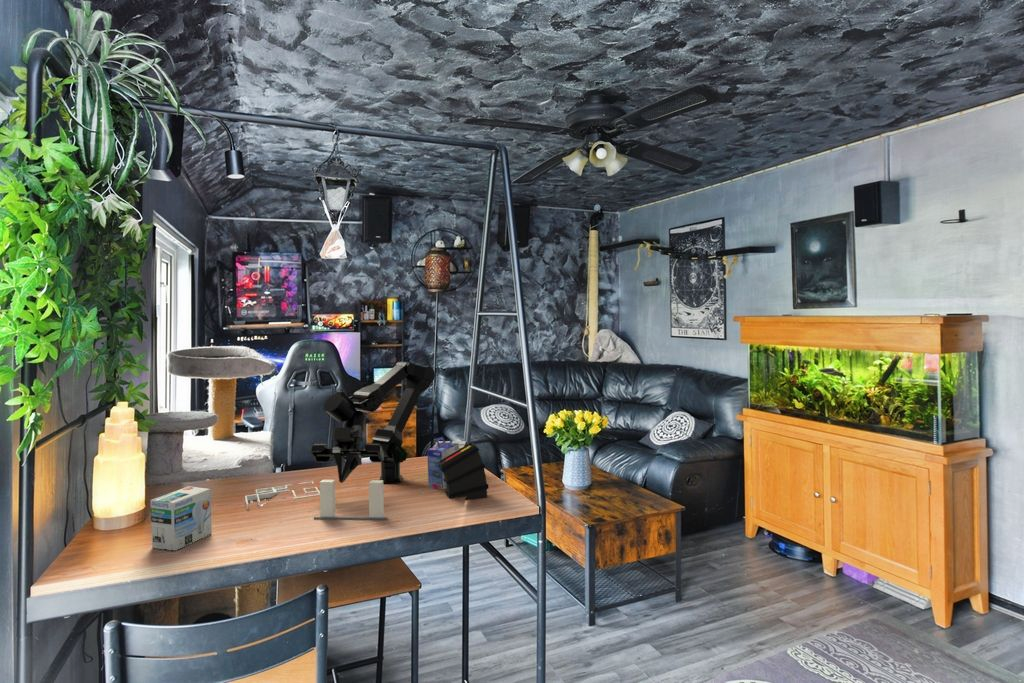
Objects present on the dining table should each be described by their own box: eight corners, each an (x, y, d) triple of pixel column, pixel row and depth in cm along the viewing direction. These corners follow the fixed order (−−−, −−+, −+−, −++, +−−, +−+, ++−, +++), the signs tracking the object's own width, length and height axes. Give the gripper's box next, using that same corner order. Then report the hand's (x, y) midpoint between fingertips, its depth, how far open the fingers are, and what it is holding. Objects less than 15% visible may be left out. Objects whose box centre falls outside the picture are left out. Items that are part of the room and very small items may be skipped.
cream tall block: (323, 515, 142) (322, 479, 141) (335, 515, 142) (334, 479, 141) (320, 518, 140) (319, 482, 139) (332, 518, 140) (331, 482, 139)
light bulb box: (175, 552, 123) (173, 502, 123) (150, 548, 125) (148, 500, 124) (213, 533, 133) (212, 487, 133) (190, 530, 135) (188, 485, 135)
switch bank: (331, 506, 151) (331, 500, 151) (398, 507, 151) (398, 501, 151) (313, 523, 139) (313, 517, 139) (387, 524, 139) (387, 518, 139)
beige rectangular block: (371, 516, 141) (371, 480, 141) (383, 516, 141) (383, 480, 141) (369, 519, 139) (368, 482, 139) (381, 519, 139) (381, 482, 139)
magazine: (498, 490, 159) (476, 444, 156) (457, 516, 155) (433, 469, 152) (494, 486, 163) (472, 441, 160) (453, 511, 159) (430, 465, 156)
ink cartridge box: (444, 481, 173) (444, 434, 173) (460, 483, 171) (460, 435, 170) (426, 490, 165) (426, 440, 164) (443, 493, 162) (442, 442, 161)
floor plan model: (250, 524, 141) (249, 516, 140) (243, 495, 163) (243, 488, 162) (328, 511, 149) (328, 503, 149) (312, 485, 171) (312, 478, 171)
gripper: (311, 414, 154) (296, 466, 143) (380, 414, 153) (370, 466, 143) (322, 436, 162) (309, 487, 152) (388, 436, 162) (379, 487, 151)
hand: (341, 481), depth 149 cm, fingers closed
